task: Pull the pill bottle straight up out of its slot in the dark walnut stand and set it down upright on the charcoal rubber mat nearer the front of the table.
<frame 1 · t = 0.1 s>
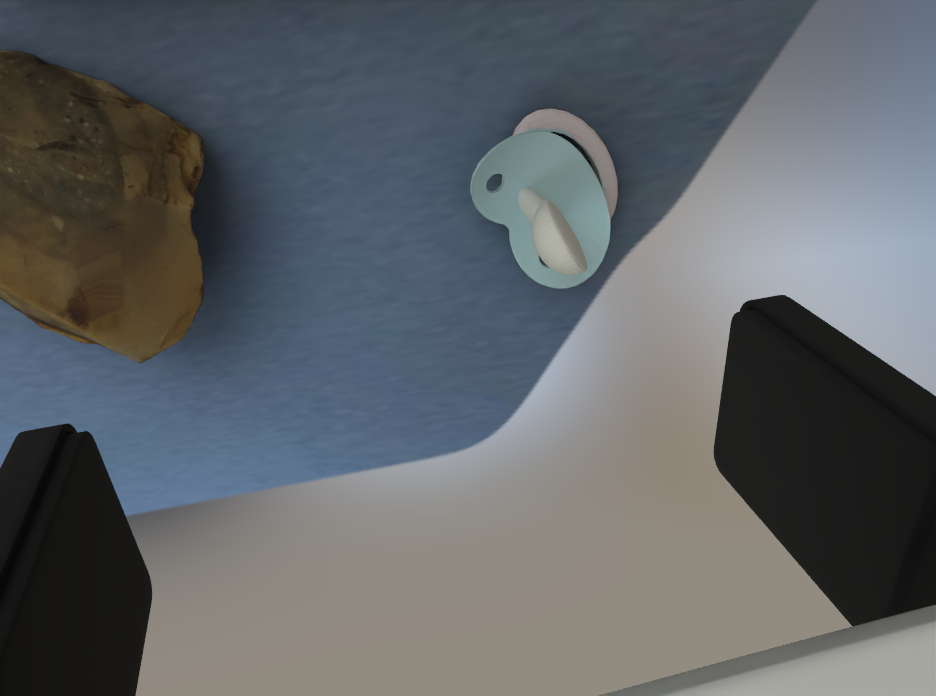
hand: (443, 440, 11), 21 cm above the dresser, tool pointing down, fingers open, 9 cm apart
decorative stone: (80, 198, 27), on the dresser
pacifier: (543, 185, 32), on the dresser
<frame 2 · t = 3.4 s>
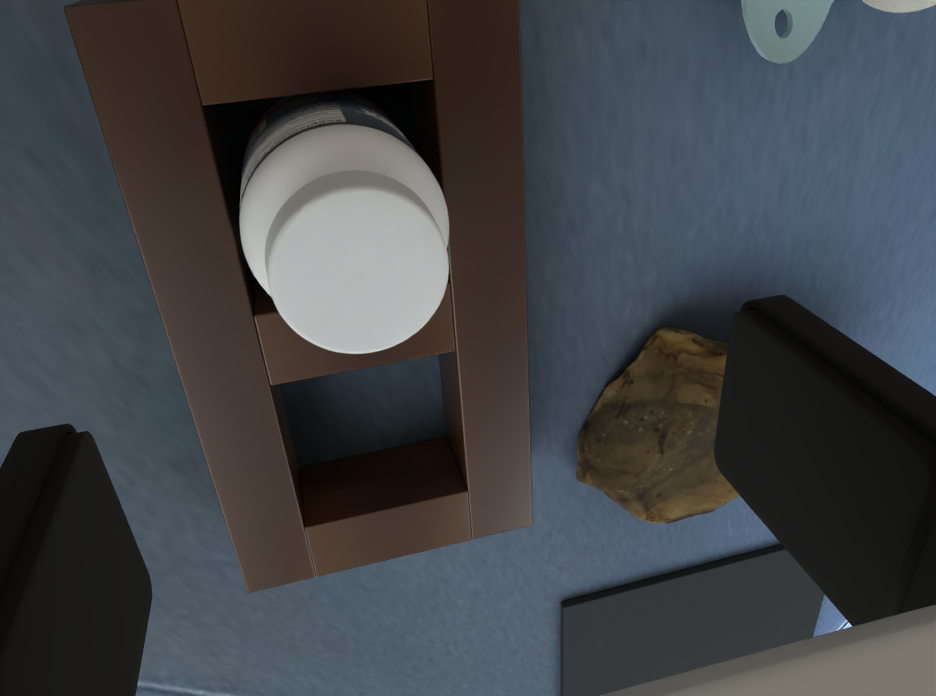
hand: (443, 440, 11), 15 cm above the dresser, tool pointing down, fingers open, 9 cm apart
decorative stone: (683, 406, 32), on the dresser
pill bottle: (327, 168, 23), resting in stand
stand: (347, 289, 25), on the dresser
mat: (692, 639, 41), on the dresser
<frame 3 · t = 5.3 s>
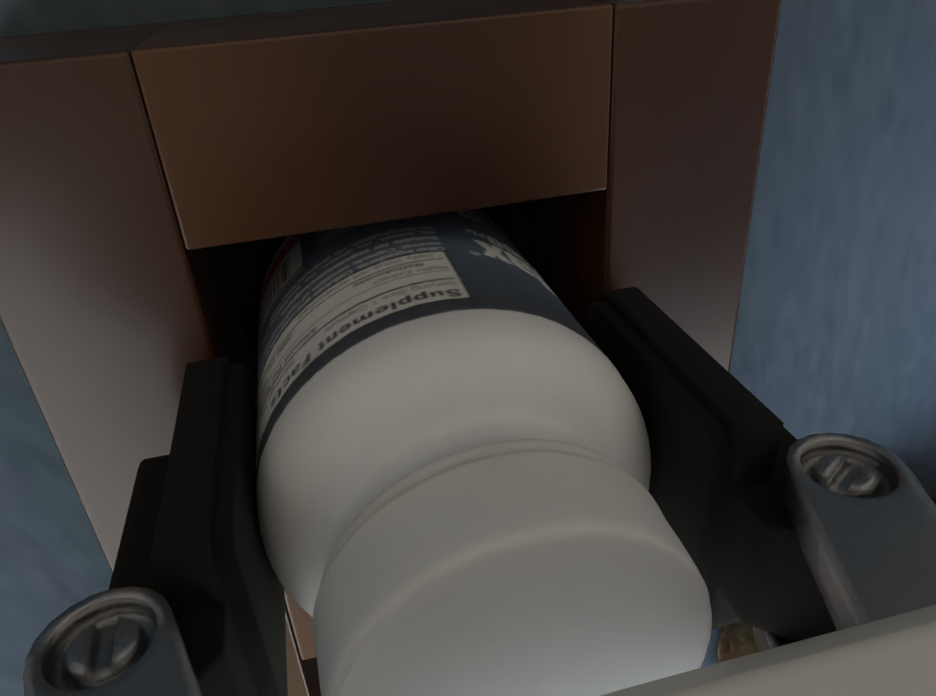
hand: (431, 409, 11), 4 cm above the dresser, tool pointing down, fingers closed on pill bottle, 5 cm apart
decorative stone: (858, 579, 24), on the dresser
pill bottle: (392, 300, 15), resting in stand, touching gripper
stand: (415, 467, 17), on the dresser
when the fingers open (5 cm above the dresser, at t = 13.7 s): pill bottle stays where it is, resting on mat.
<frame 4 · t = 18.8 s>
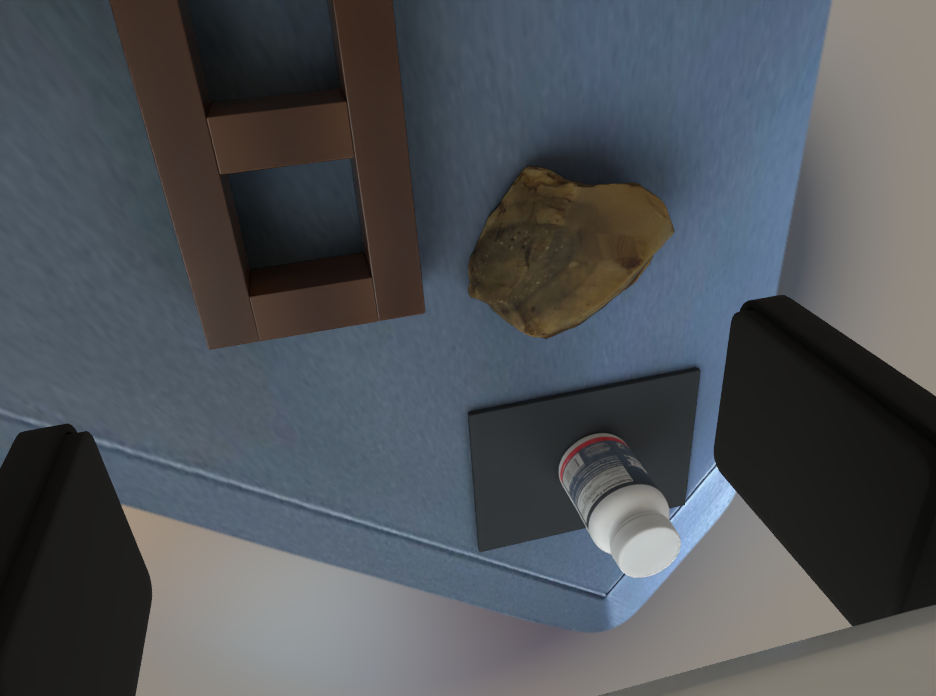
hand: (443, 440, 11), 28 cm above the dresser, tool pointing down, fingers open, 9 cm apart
decorative stone: (555, 242, 42), on the dresser
pill bottle: (591, 460, 50), resting on mat
stand: (281, 121, 35), on the dresser
mat: (584, 460, 50), on the dresser
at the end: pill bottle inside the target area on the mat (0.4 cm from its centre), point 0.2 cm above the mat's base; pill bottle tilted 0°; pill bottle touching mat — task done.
